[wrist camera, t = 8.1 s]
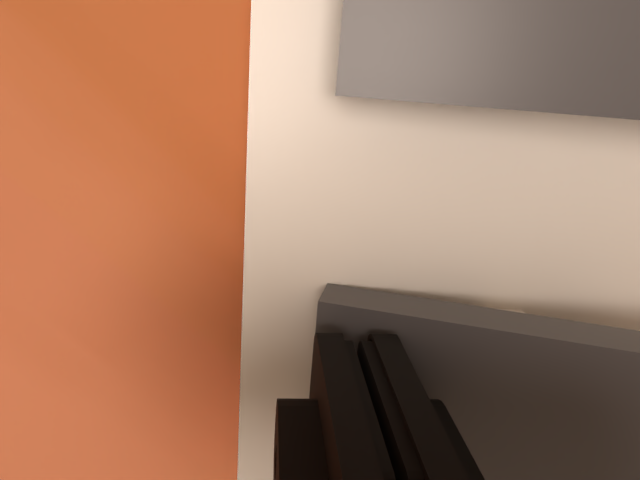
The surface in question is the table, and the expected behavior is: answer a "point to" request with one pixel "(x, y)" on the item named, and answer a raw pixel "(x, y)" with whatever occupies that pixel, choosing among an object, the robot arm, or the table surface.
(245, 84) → the table surface
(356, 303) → the rocker
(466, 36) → the rocker
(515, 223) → the rocker switch panel
